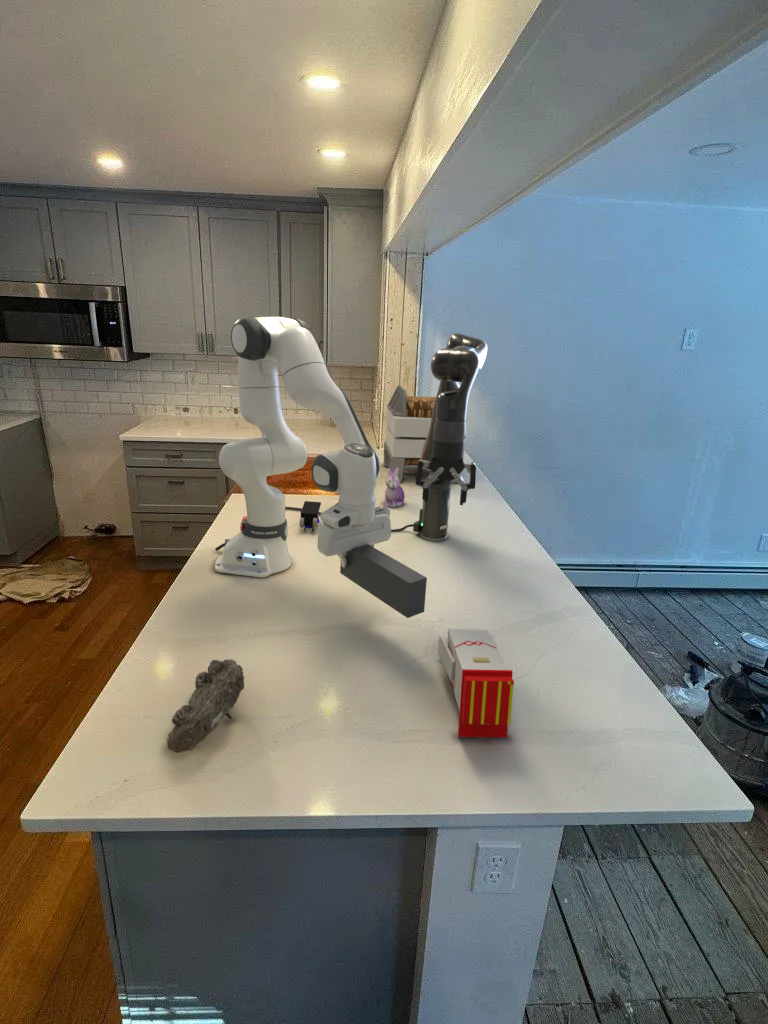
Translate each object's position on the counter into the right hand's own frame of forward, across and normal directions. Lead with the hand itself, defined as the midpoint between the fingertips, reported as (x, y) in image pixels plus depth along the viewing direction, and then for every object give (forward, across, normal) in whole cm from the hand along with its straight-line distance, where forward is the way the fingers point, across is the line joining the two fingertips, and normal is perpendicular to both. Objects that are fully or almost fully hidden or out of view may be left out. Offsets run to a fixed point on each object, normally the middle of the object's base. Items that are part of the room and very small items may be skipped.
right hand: (443, 503), depth 138 cm
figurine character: (+31, +45, -54) cm, 76 cm away
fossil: (+31, +42, +47) cm, 70 cm away
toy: (+31, -8, +32) cm, 45 cm away
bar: (+20, +14, +11) cm, 26 cm away
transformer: (+31, +9, -134) cm, 138 cm away
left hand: (+16, +21, +4) cm, 27 cm away
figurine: (+31, +17, -85) cm, 92 cm away
